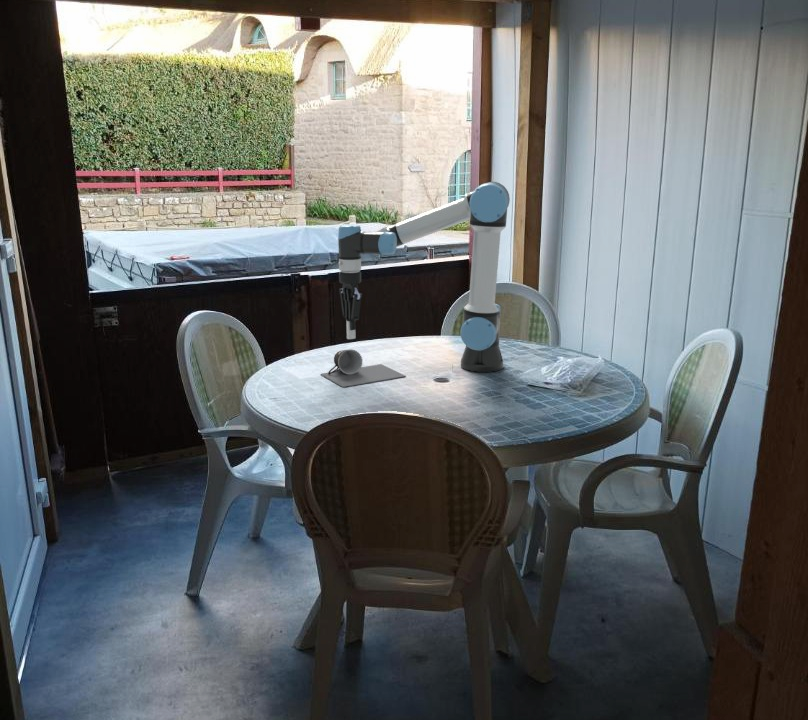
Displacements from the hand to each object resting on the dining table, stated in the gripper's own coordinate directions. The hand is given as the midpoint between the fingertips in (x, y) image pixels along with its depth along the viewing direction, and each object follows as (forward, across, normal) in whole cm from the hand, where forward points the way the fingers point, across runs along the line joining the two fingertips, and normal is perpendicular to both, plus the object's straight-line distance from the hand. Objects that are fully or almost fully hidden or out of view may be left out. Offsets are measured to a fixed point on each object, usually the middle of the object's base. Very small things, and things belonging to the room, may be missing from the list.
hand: (351, 338), depth 264 cm
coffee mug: (+8, -4, -3) cm, 10 cm away
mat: (+11, +8, 0) cm, 14 cm away
